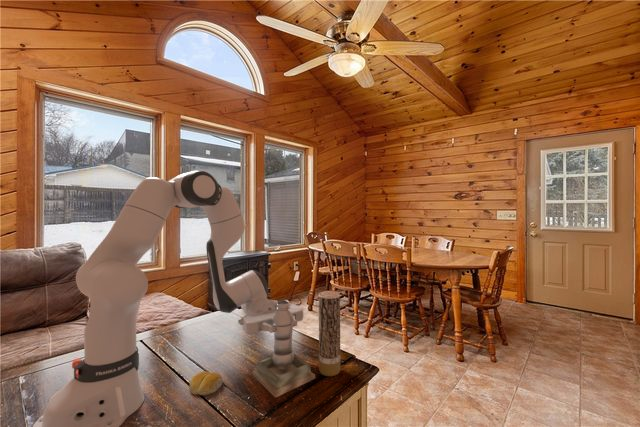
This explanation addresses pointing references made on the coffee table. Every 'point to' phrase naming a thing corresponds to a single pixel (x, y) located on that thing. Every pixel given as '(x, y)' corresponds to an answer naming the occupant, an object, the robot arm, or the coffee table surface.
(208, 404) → the coffee table surface
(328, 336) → the paper tube
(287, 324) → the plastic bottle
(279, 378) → the bottle stand
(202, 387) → the bread roll
